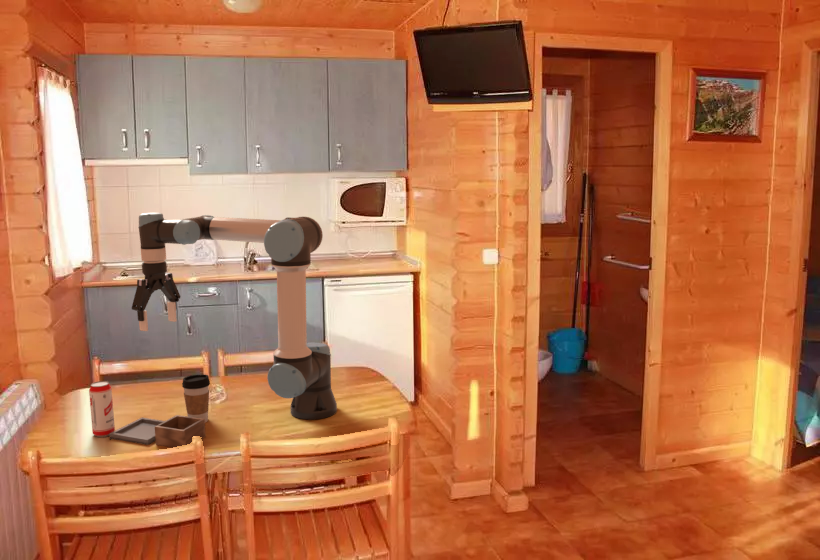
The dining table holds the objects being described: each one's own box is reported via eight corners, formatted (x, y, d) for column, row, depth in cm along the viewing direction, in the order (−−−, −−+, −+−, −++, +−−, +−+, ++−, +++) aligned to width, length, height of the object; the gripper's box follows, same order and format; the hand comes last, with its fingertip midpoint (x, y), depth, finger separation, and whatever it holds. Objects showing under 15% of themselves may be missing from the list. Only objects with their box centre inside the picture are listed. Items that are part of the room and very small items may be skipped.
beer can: (118, 429, 224) (114, 380, 221) (110, 437, 218) (106, 386, 215) (97, 430, 224) (93, 380, 221) (89, 438, 218) (84, 387, 215)
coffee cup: (204, 428, 226) (201, 381, 223) (179, 426, 227) (176, 380, 225) (216, 418, 234) (214, 373, 231) (192, 416, 235) (189, 372, 233)
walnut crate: (205, 438, 218) (204, 419, 217) (184, 450, 209) (183, 431, 207) (178, 433, 221) (176, 414, 220) (155, 446, 212) (154, 426, 211)
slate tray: (178, 429, 225) (178, 423, 224) (147, 446, 212) (147, 439, 211) (142, 423, 230) (141, 417, 229) (109, 439, 217) (109, 433, 216)
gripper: (170, 255, 246) (174, 316, 249) (116, 266, 223) (121, 333, 226) (188, 256, 243) (192, 318, 247) (135, 267, 220) (140, 335, 224)
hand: (158, 325), depth 237 cm, fingers open, 13 cm apart
